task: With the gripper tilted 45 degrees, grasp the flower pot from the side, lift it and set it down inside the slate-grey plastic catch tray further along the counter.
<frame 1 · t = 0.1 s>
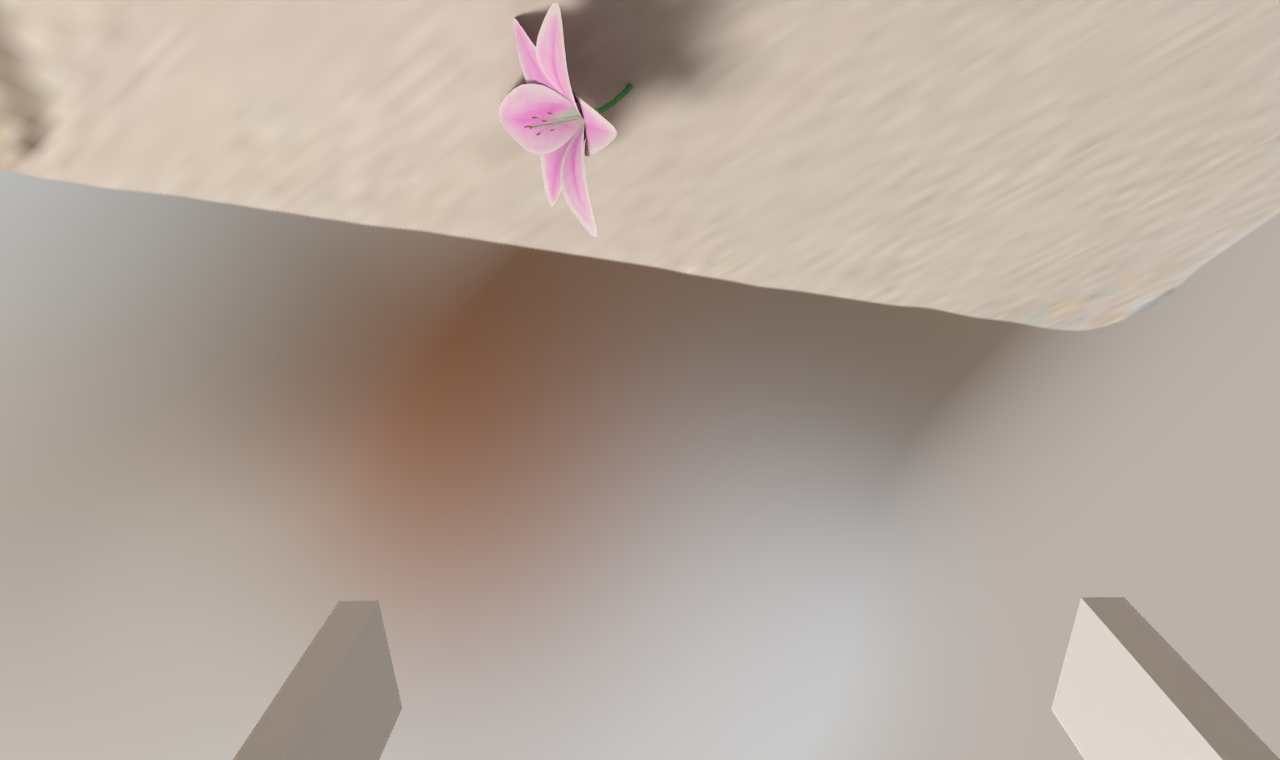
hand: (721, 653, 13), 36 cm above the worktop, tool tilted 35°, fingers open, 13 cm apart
lily: (564, 72, 41), on the worktop
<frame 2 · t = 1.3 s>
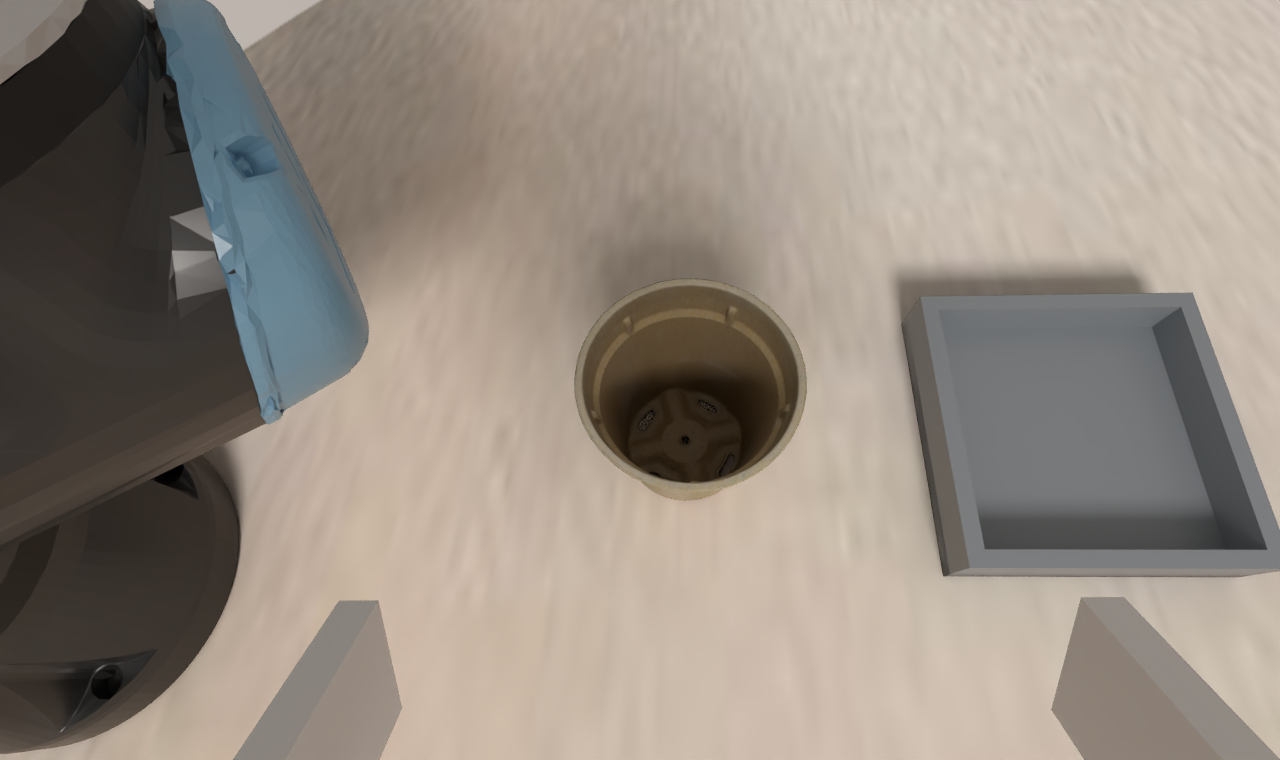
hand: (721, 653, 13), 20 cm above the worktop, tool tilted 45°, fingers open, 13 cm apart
catch tray: (1055, 439, 34), on the worktop
flower pot: (684, 442, 35), on the worktop
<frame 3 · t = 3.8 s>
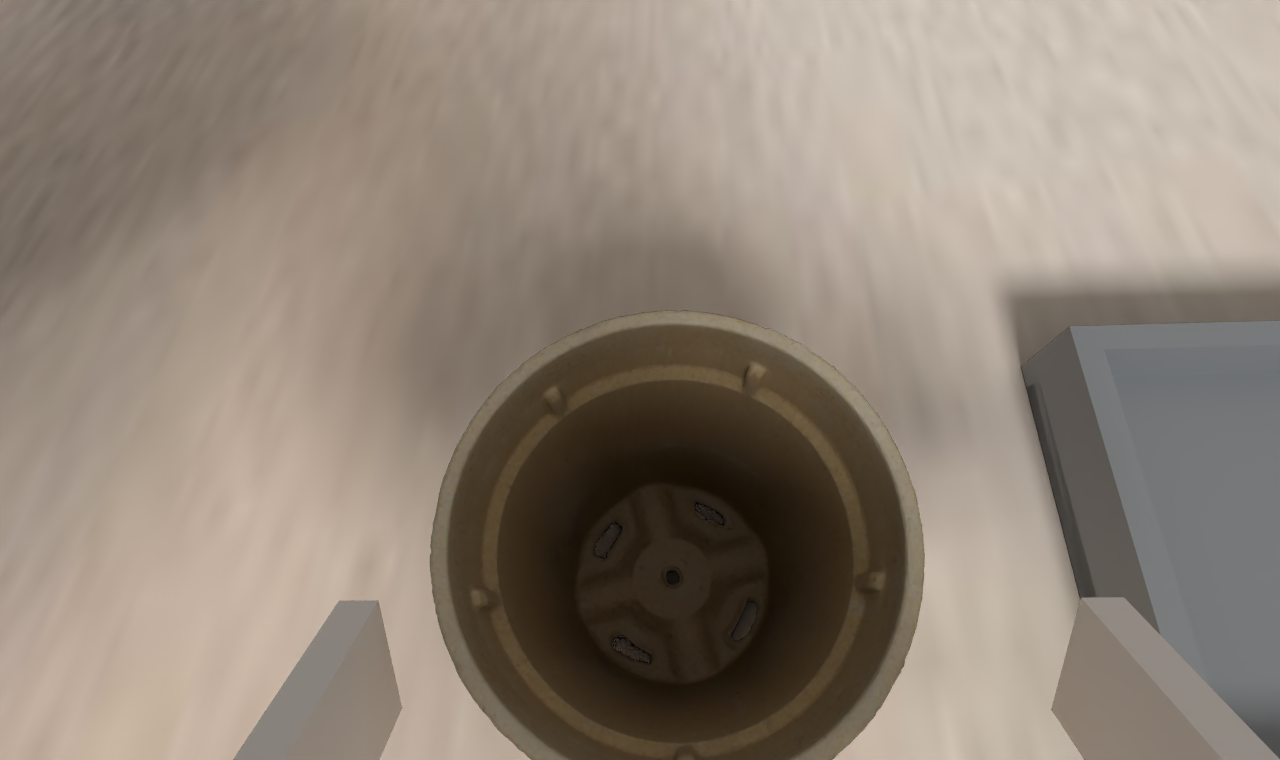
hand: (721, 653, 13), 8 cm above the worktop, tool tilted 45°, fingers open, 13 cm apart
flower pot: (672, 576, 21), on the worktop
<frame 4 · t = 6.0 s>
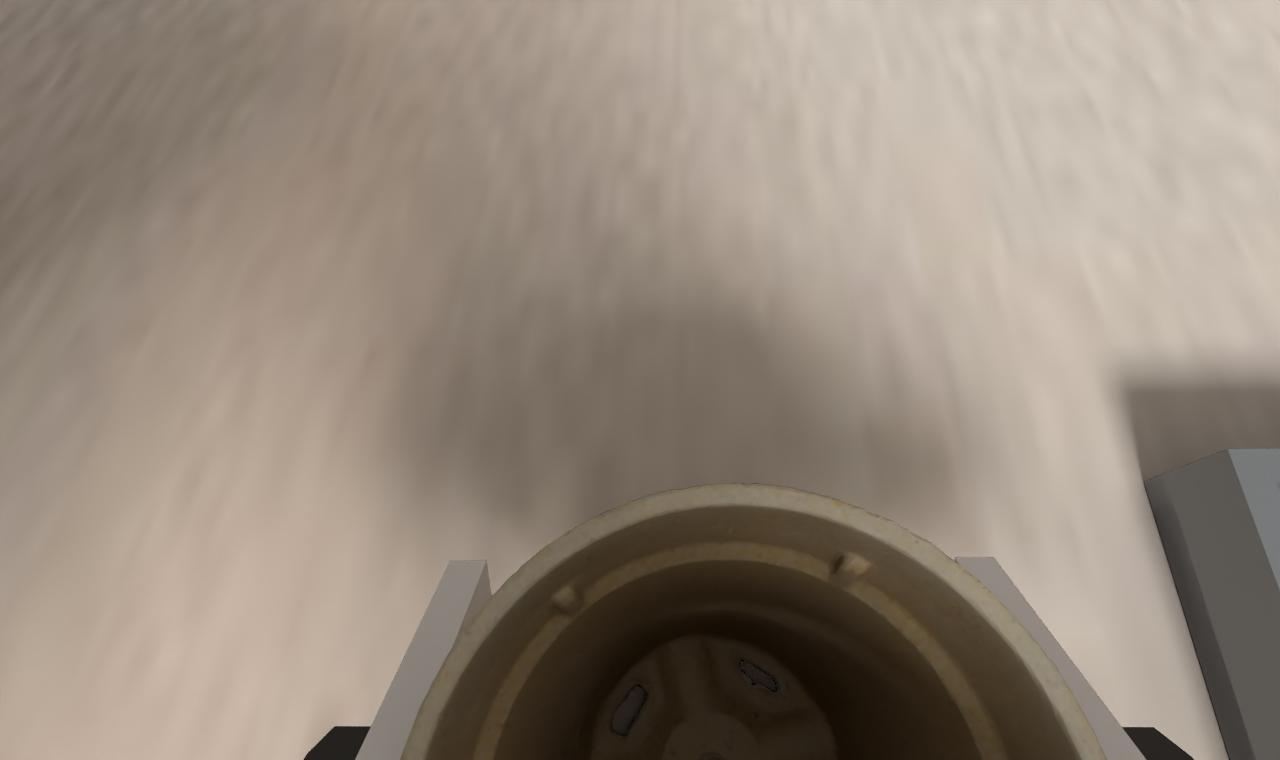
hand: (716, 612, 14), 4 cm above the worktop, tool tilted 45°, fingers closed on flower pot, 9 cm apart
flower pot: (711, 759, 16), on the worktop, touching gripper
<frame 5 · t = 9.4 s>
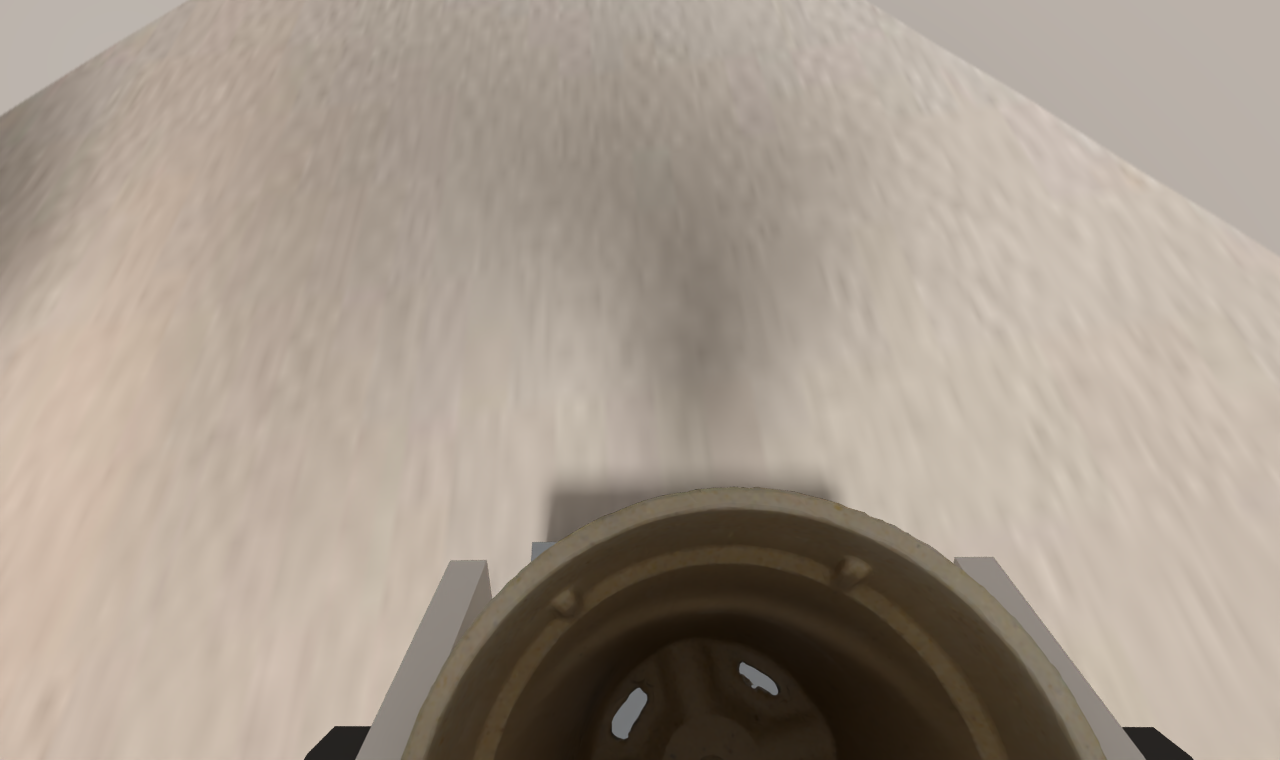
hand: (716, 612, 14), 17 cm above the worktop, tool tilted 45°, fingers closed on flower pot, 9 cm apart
catch tray: (695, 715, 28), on the worktop
when the fingers open (6 cm above the worktop, at t = 12.8 s): flower pot drops 1 cm, resting on catch tray.
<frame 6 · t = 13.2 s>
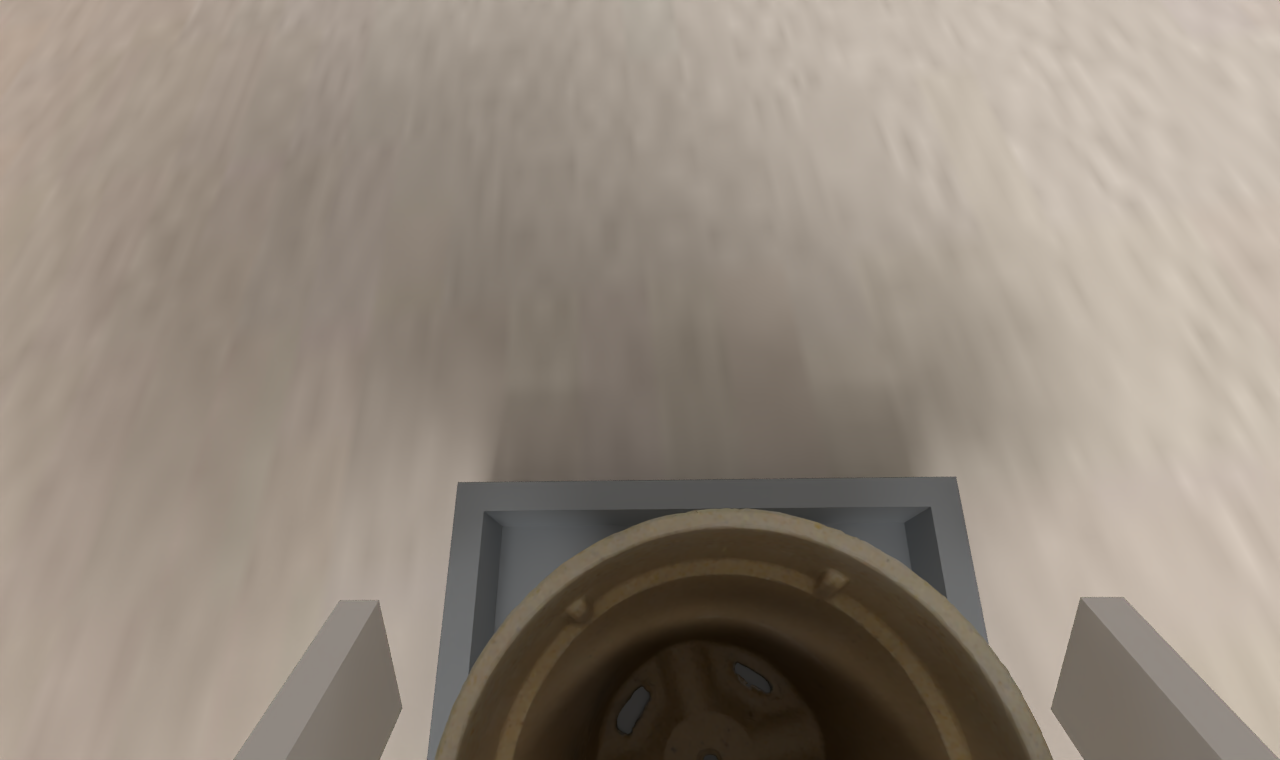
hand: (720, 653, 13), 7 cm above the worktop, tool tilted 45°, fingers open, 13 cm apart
catch tray: (707, 749, 18), on the worktop
flower pot: (709, 755, 18), point 1 cm above the worktop, touching catch tray
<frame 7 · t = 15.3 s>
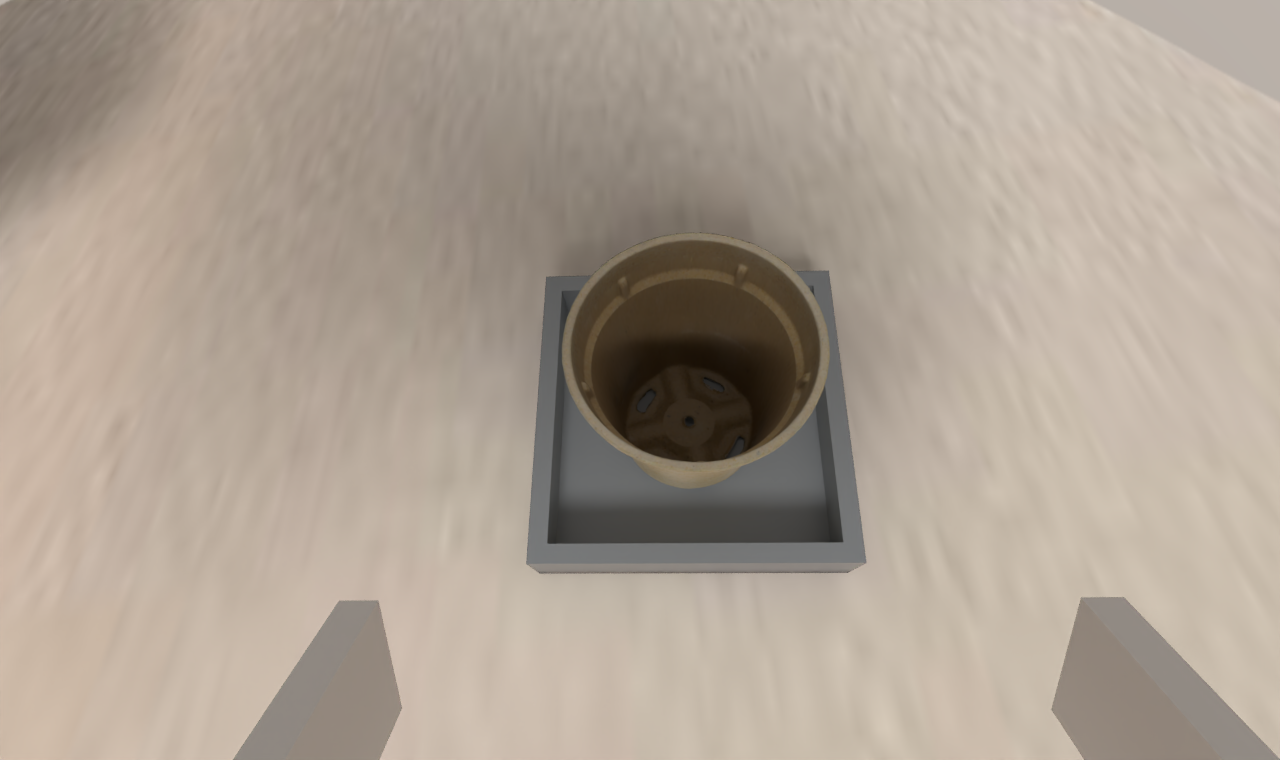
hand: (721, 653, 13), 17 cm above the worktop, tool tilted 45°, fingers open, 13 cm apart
catch tray: (688, 427, 32), on the worktop
flower pot: (688, 425, 31), point 1 cm above the worktop, touching catch tray
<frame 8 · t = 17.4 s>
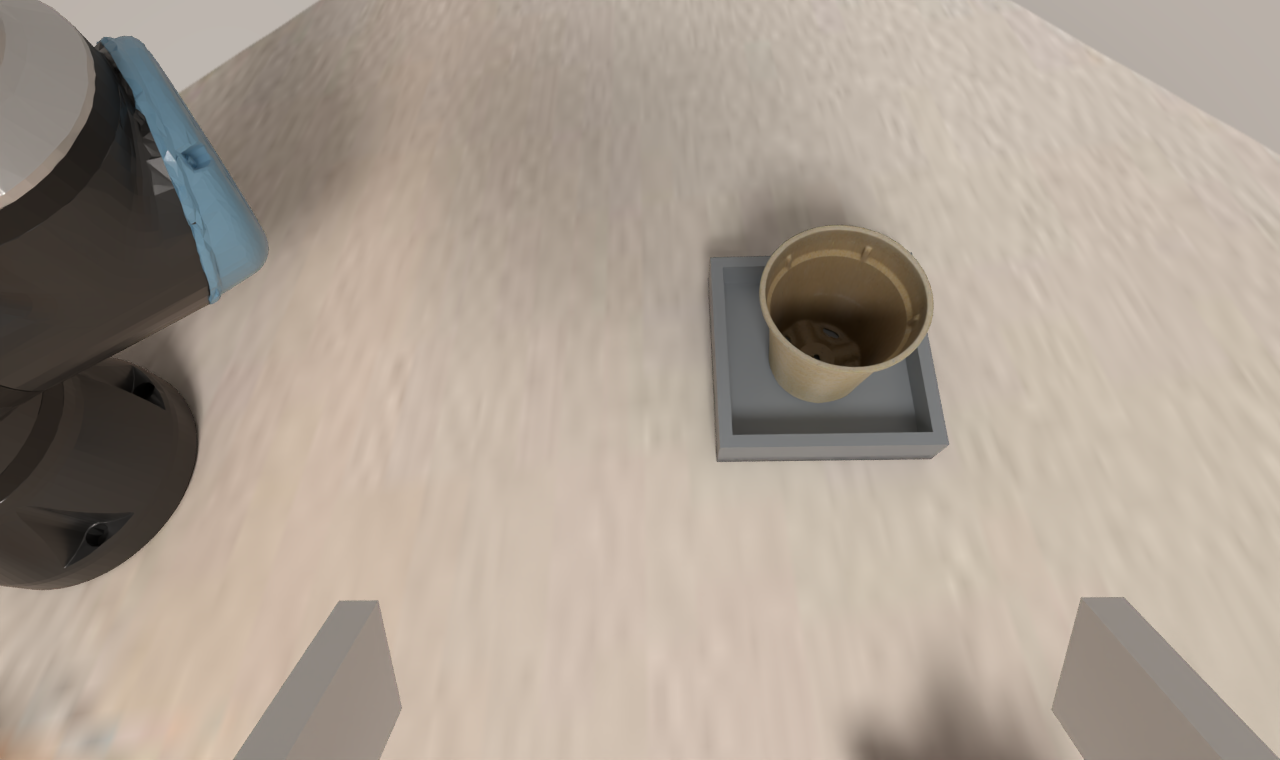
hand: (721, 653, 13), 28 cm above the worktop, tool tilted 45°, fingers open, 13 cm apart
catch tray: (812, 364, 45), on the worktop
flower pot: (814, 361, 45), point 1 cm above the worktop, touching catch tray
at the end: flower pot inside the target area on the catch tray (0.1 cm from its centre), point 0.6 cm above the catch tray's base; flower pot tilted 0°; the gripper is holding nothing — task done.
